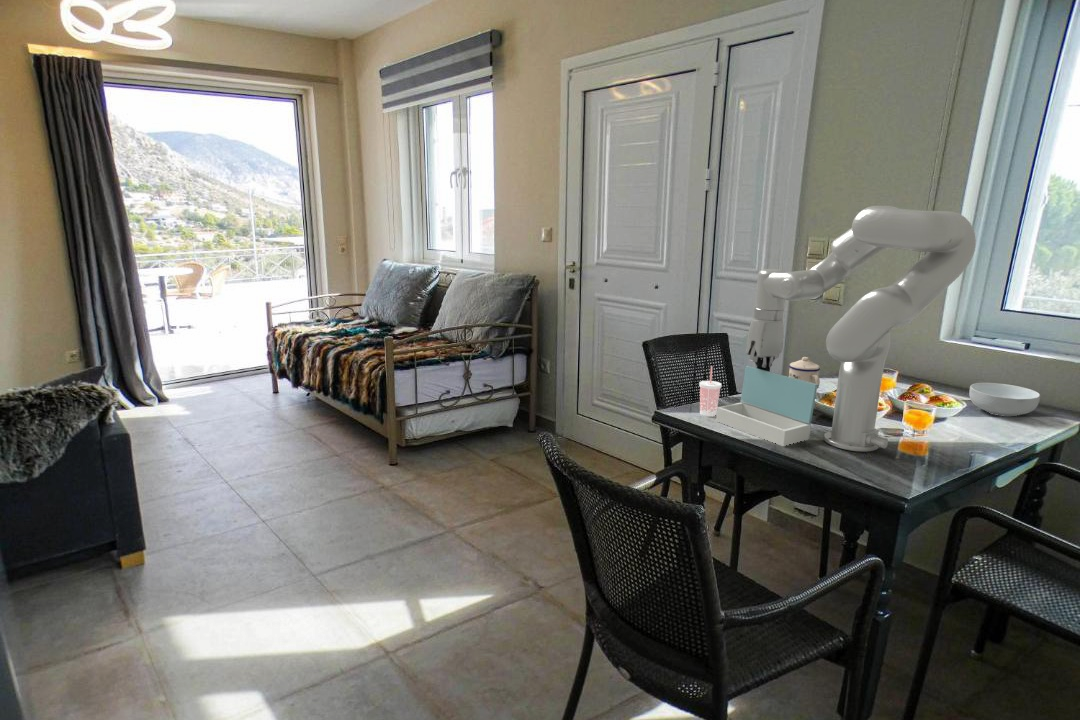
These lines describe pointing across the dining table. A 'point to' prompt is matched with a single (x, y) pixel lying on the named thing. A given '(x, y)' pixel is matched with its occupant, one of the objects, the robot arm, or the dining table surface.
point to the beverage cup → (709, 396)
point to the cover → (779, 394)
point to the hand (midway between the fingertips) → (762, 380)
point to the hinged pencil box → (763, 423)
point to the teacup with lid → (805, 371)
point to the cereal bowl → (1003, 398)
